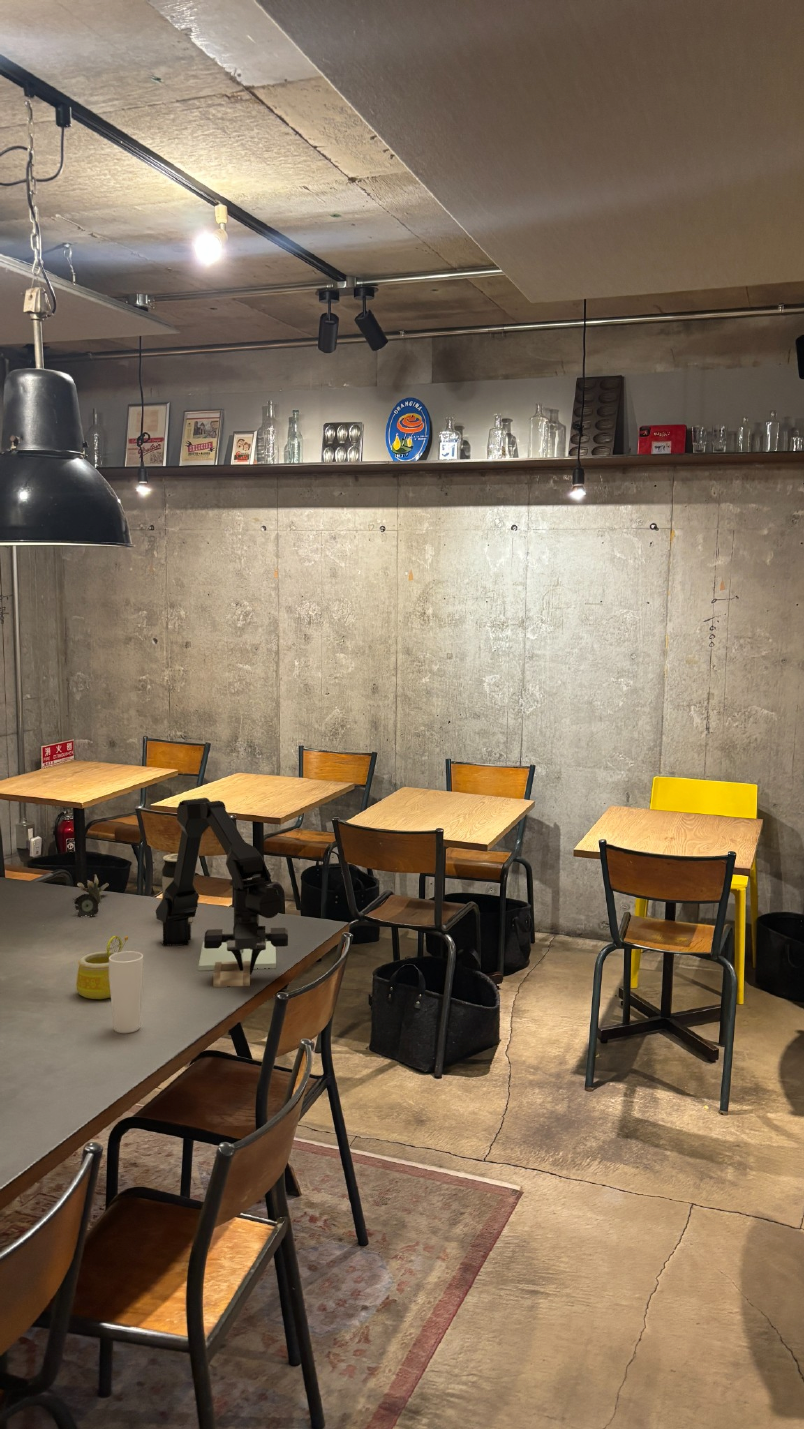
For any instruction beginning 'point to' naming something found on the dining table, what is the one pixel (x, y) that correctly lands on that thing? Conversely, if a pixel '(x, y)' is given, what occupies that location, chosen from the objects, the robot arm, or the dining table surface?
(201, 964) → the pale green base plate
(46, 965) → the dining table surface
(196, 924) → the dining table surface
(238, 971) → the square wooden frame
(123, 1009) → the drinking glass
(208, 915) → the dining table surface
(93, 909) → the artificial flower
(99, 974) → the mug
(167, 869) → the travel mug
